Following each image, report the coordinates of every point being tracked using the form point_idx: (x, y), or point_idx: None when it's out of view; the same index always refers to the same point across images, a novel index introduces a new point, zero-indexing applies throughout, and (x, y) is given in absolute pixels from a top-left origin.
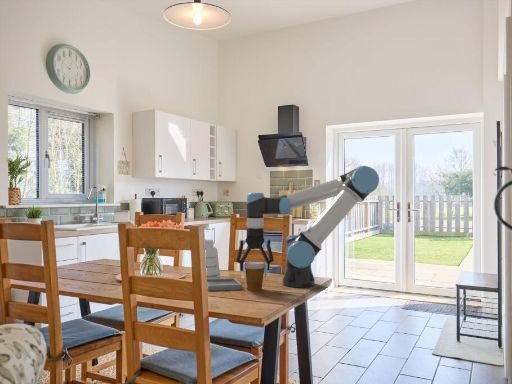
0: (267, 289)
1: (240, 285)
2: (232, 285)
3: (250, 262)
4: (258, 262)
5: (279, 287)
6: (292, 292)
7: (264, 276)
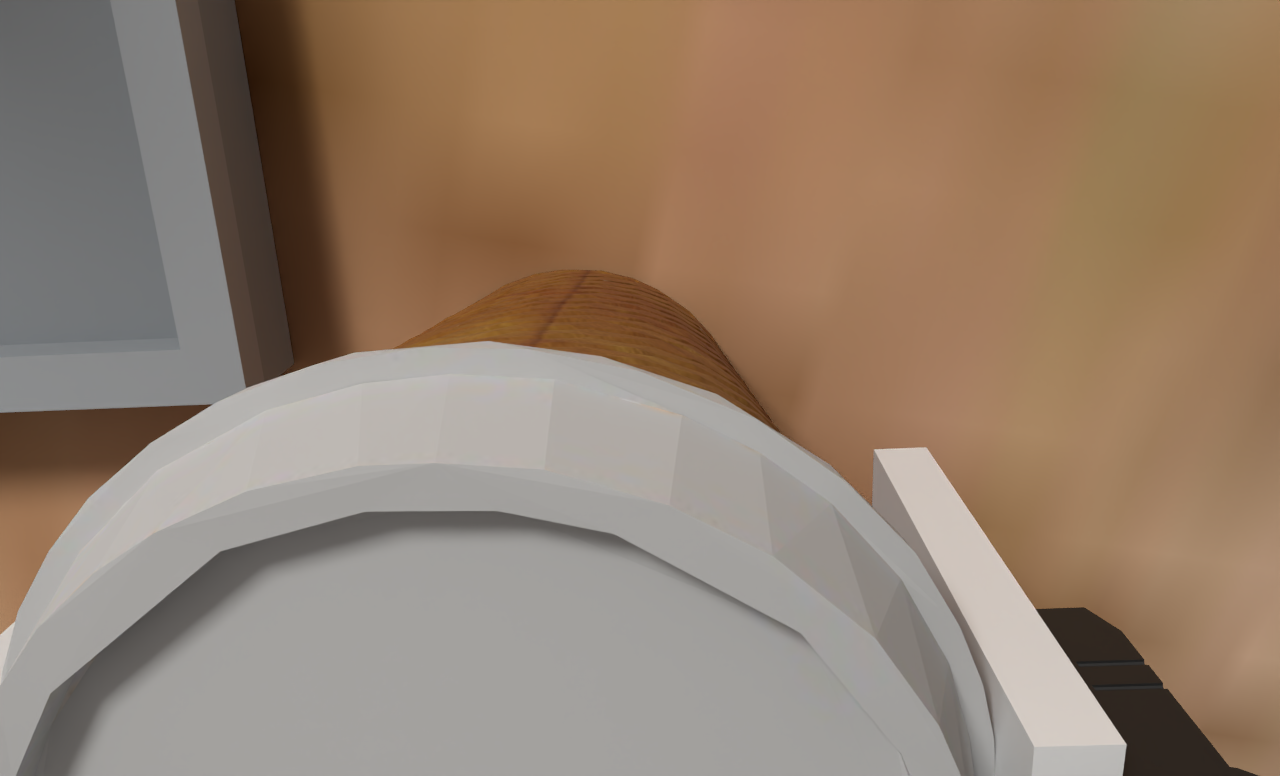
0: (874, 435)
1: (226, 395)
2: (23, 408)
3: (287, 612)
4: (734, 683)
5: (1230, 270)
6: (1273, 763)
7: (880, 501)
